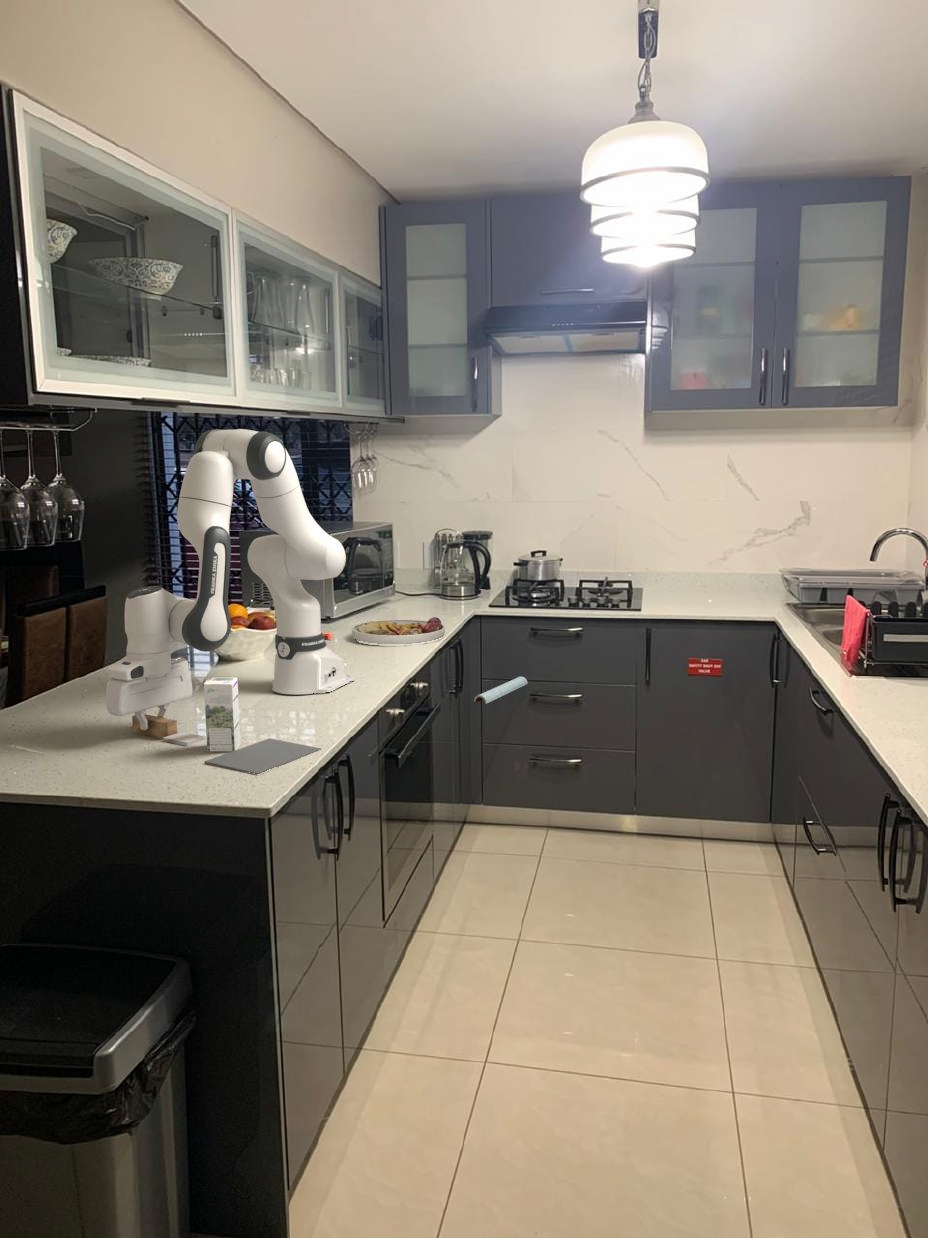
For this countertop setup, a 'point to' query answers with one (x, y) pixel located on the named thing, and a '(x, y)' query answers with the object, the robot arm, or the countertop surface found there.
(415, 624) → the plate of food
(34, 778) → the countertop surface
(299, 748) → the mat
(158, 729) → the tan wooden bar
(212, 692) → the syrup box
